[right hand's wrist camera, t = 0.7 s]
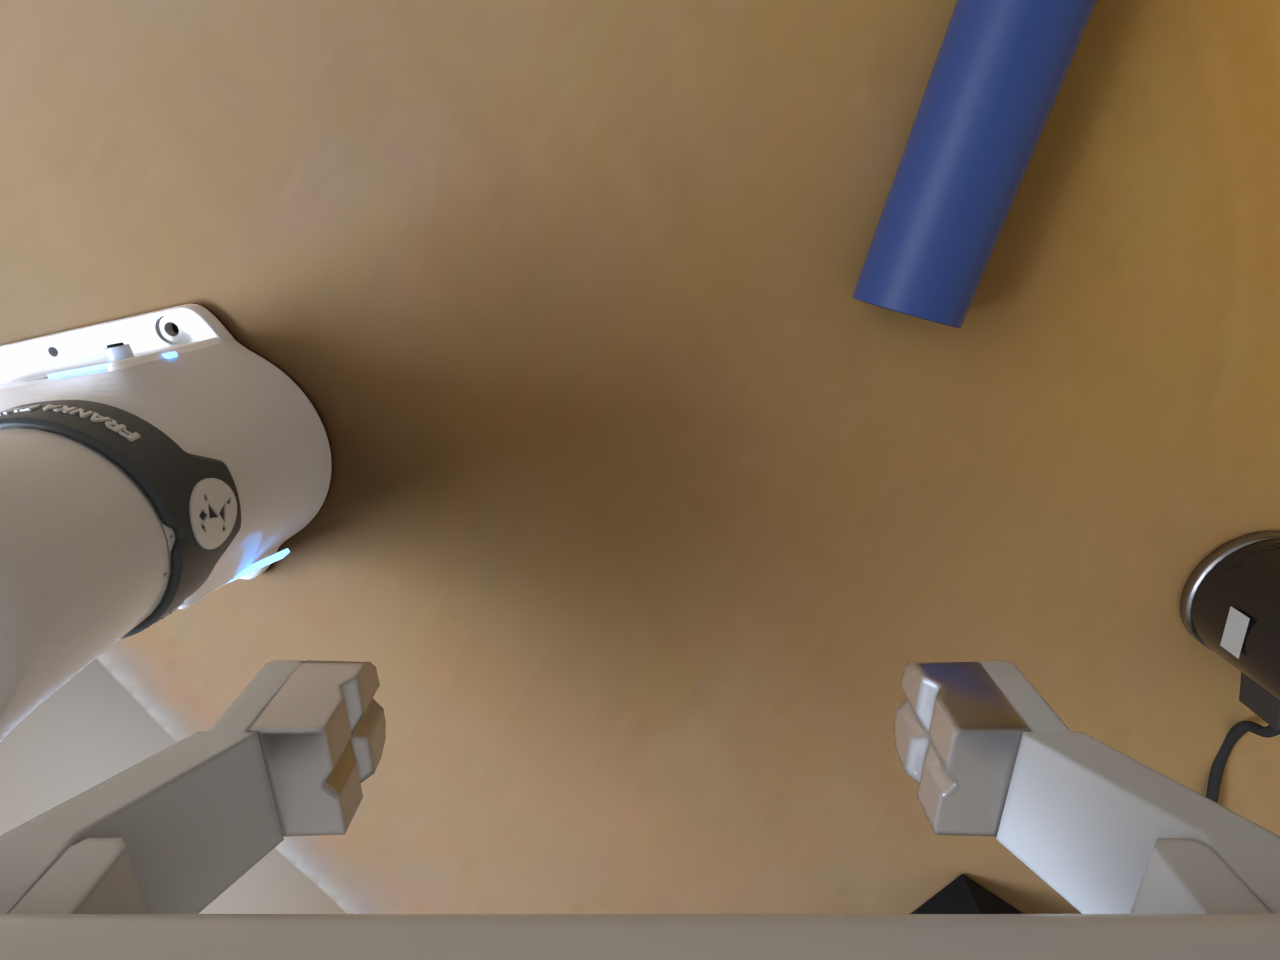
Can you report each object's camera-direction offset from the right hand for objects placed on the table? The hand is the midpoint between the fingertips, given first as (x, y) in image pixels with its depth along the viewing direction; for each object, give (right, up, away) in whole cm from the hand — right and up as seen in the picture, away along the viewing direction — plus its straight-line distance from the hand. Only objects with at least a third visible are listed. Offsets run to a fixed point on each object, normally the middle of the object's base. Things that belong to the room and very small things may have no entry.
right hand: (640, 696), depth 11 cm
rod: (+18, +24, +28) cm, 41 cm away
